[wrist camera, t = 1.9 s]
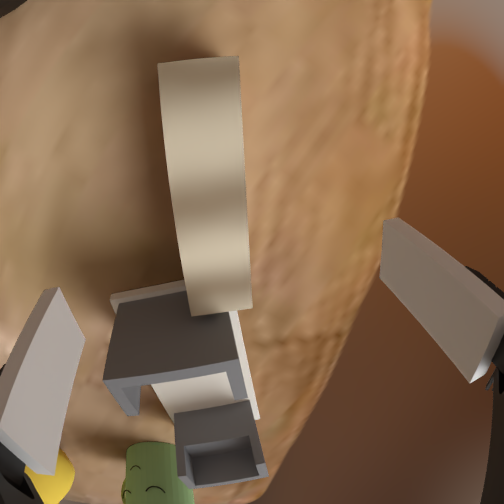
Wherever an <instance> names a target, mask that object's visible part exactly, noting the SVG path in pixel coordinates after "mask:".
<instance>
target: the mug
mask: <svg viewBox="0 0 504 504" xmlns="http://www.w3.org/2000/svg"><path fill="white" fill-rule="evenodd" d="M125 488H126V490H125ZM125 491H126V498H125ZM121 497H122V501H123V504H194V496H193V489H189V488H188V487H187V486H186V485H185V484H184V483H183V482H182V481H181V480H180V479H179V478H178V476H177V463H176V448H175V445H173V444H168V443H162V442H142V443H137V444H134V445H132V446H130V447H129V448H128V449H127V451H126V478H125V480H124V482H123V485H122V489H121Z"/></svg>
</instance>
